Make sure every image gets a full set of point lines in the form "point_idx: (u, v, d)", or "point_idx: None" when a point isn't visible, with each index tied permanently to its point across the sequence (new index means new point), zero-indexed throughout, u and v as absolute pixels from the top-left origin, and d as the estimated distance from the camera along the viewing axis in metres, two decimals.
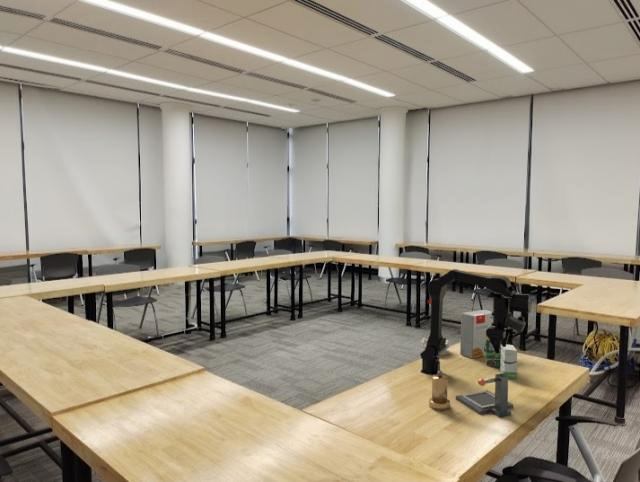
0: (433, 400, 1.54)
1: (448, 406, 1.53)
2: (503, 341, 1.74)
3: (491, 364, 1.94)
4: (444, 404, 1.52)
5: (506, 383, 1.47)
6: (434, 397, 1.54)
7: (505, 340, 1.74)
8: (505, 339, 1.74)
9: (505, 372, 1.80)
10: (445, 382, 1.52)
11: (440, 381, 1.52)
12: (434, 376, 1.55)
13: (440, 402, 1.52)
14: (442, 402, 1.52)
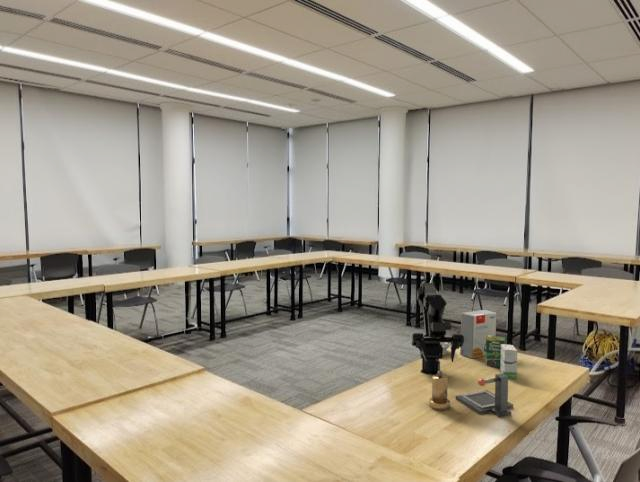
0: (433, 400, 1.54)
1: (448, 406, 1.53)
2: (451, 356, 1.63)
3: (491, 364, 1.94)
4: (444, 404, 1.52)
5: (506, 383, 1.47)
6: (434, 397, 1.54)
7: (451, 354, 1.63)
8: (451, 353, 1.63)
9: (505, 372, 1.80)
10: (445, 382, 1.52)
11: (440, 381, 1.52)
12: (434, 376, 1.55)
13: (440, 402, 1.52)
14: (442, 402, 1.52)
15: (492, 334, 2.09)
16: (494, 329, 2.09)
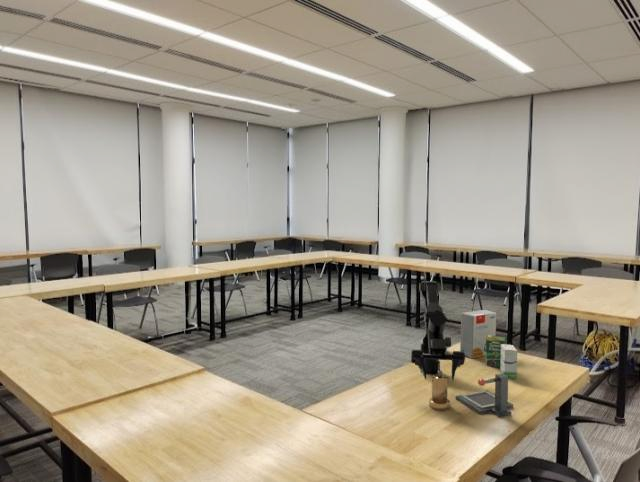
0: (433, 400, 1.54)
1: (448, 406, 1.53)
2: None
3: (491, 364, 1.94)
4: (444, 404, 1.52)
5: (506, 383, 1.47)
6: (434, 397, 1.54)
7: (452, 372, 1.57)
8: (452, 371, 1.57)
9: (505, 372, 1.80)
10: (445, 382, 1.52)
11: (440, 381, 1.52)
12: (434, 376, 1.55)
13: (440, 402, 1.52)
14: (442, 402, 1.52)
15: (492, 334, 2.09)
16: (494, 329, 2.09)
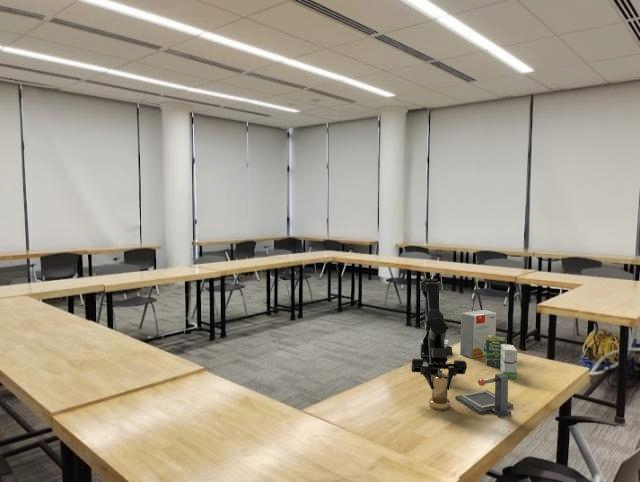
0: (433, 400, 1.54)
1: (448, 406, 1.53)
2: None
3: (491, 364, 1.94)
4: (444, 404, 1.52)
5: (506, 383, 1.47)
6: (434, 397, 1.54)
7: None
8: None
9: (505, 372, 1.80)
10: (445, 382, 1.52)
11: (440, 381, 1.52)
12: (434, 376, 1.55)
13: (440, 402, 1.52)
14: (442, 402, 1.52)
15: (492, 334, 2.09)
16: (494, 329, 2.09)
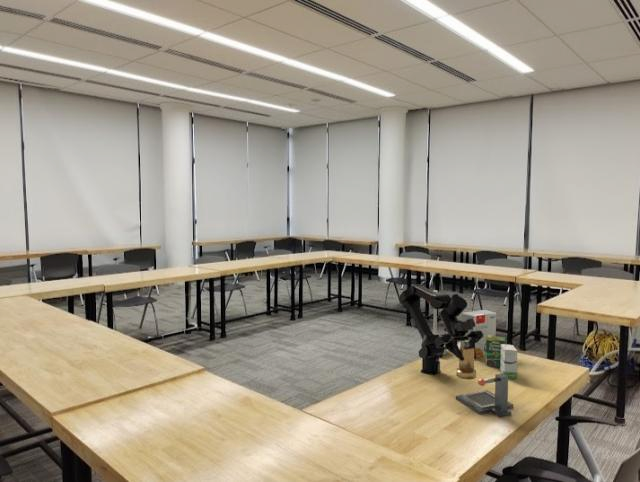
0: (463, 371, 1.64)
1: None
2: None
3: (491, 364, 1.94)
4: (474, 372, 1.64)
5: (506, 383, 1.47)
6: (465, 368, 1.63)
7: None
8: None
9: (505, 372, 1.80)
10: None
11: (471, 351, 1.62)
12: (462, 348, 1.65)
13: (470, 371, 1.63)
14: (472, 371, 1.63)
15: (492, 334, 2.09)
16: (494, 329, 2.09)
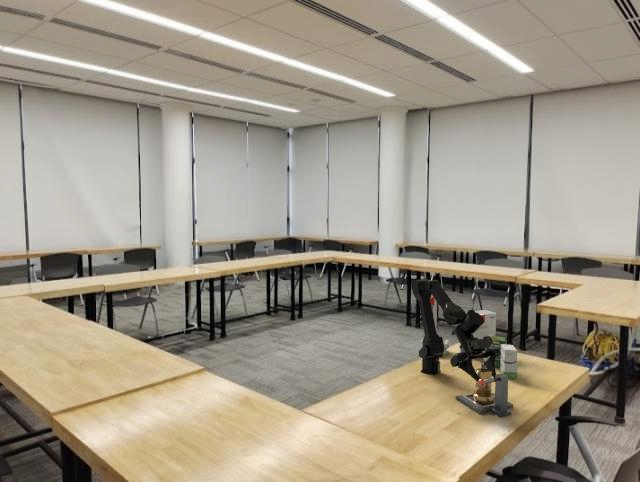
0: (480, 395, 1.55)
1: (493, 397, 1.56)
2: (492, 372, 1.58)
3: None
4: (491, 396, 1.55)
5: (506, 383, 1.47)
6: (482, 391, 1.55)
7: (492, 370, 1.58)
8: (492, 369, 1.58)
9: (505, 372, 1.80)
10: (491, 375, 1.55)
11: (488, 374, 1.54)
12: (478, 371, 1.56)
13: (488, 395, 1.55)
14: (489, 395, 1.55)
15: (492, 334, 2.09)
16: (494, 329, 2.09)
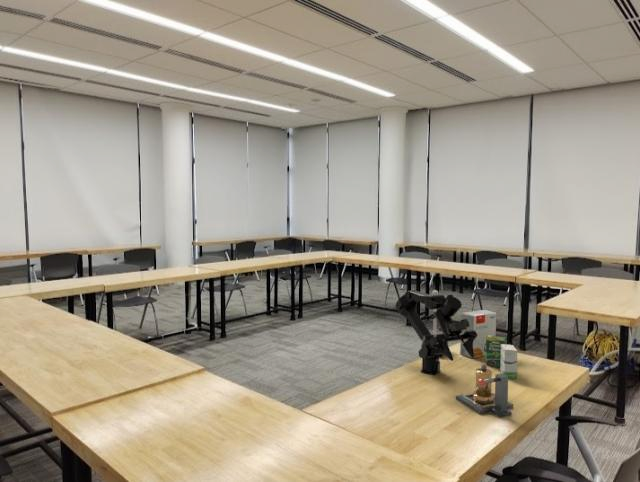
0: (480, 395, 1.55)
1: (493, 398, 1.56)
2: (470, 352, 1.70)
3: (491, 364, 1.94)
4: (491, 396, 1.55)
5: (506, 383, 1.47)
6: (482, 391, 1.55)
7: (470, 350, 1.70)
8: (470, 349, 1.70)
9: (505, 372, 1.80)
10: (491, 375, 1.55)
11: (488, 374, 1.54)
12: (478, 371, 1.56)
13: (488, 395, 1.55)
14: (489, 395, 1.55)
15: (492, 334, 2.09)
16: (494, 329, 2.09)
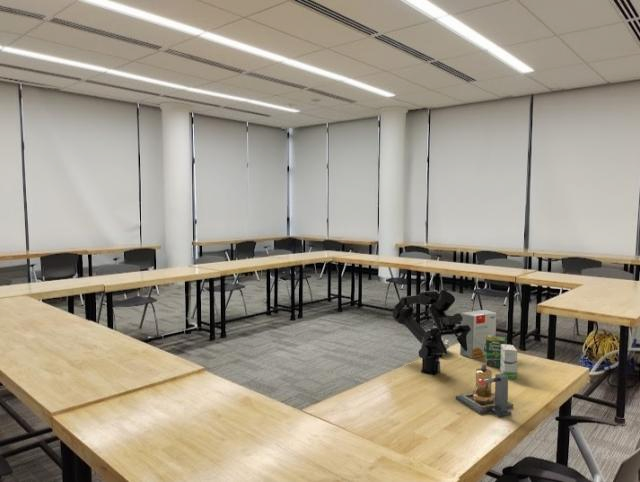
0: (480, 395, 1.55)
1: (493, 398, 1.56)
2: (463, 346, 1.74)
3: (491, 364, 1.94)
4: (491, 396, 1.55)
5: (506, 383, 1.47)
6: (482, 391, 1.55)
7: (464, 344, 1.74)
8: (463, 343, 1.74)
9: (505, 372, 1.80)
10: (491, 375, 1.55)
11: (488, 374, 1.54)
12: (478, 371, 1.56)
13: (488, 395, 1.55)
14: (489, 395, 1.55)
15: (492, 334, 2.09)
16: (494, 329, 2.09)
